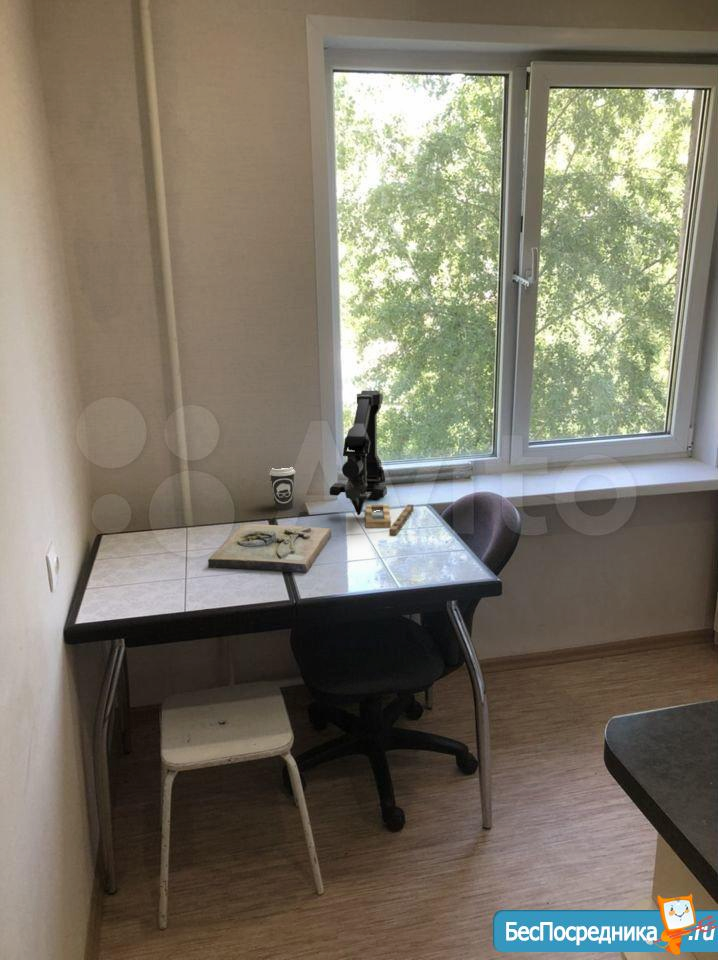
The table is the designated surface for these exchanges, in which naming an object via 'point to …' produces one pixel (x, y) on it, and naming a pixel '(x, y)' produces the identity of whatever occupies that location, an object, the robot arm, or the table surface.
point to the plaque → (271, 548)
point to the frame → (378, 516)
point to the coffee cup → (283, 487)
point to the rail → (401, 520)
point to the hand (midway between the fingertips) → (358, 514)
